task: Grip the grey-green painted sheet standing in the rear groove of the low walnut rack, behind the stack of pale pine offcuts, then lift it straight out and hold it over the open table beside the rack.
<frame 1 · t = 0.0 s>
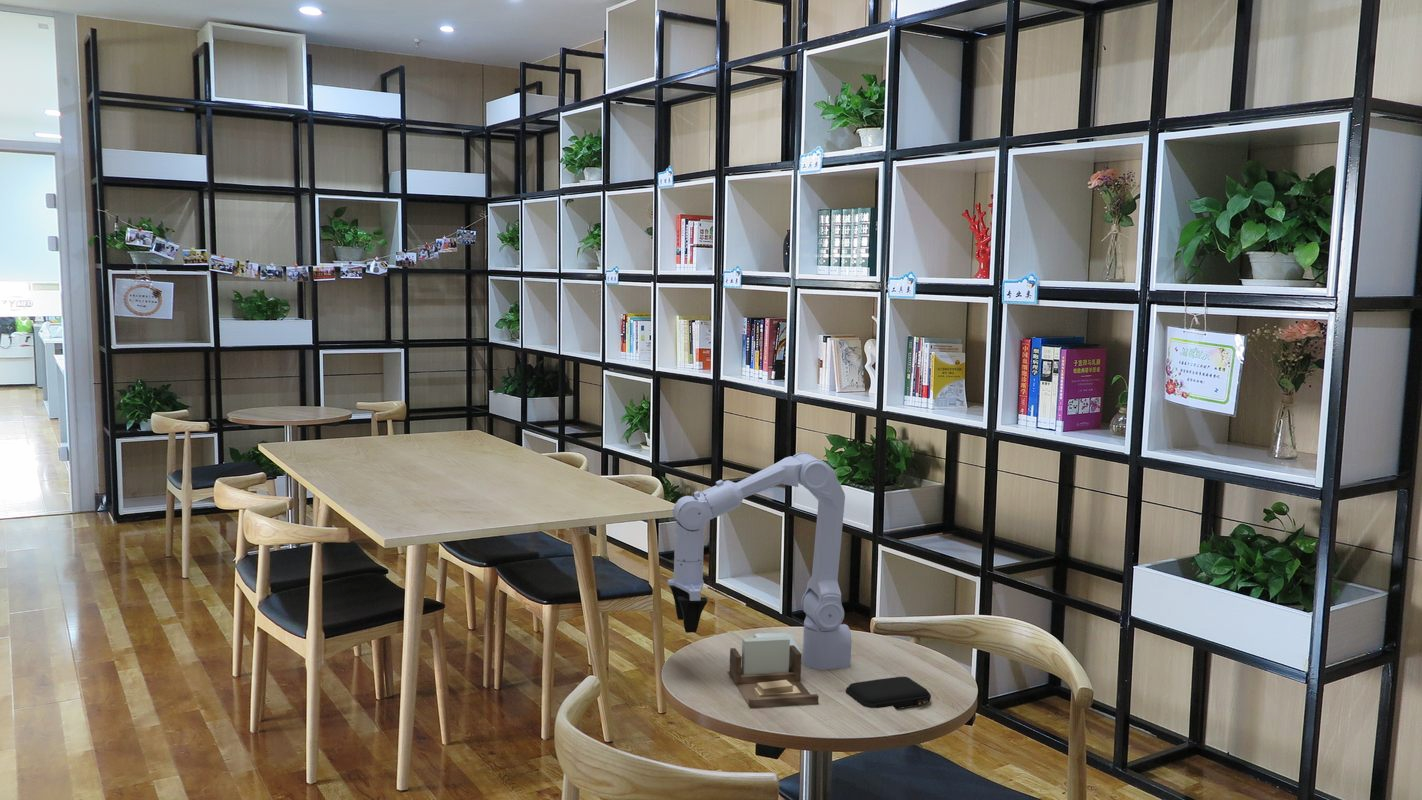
hand: (686, 625, 211), 10 cm above the table, tool pointing down, fingers open, 7 cm apart
rack: (770, 692, 204), on the table
carrying case or bag: (889, 703, 202), on the table
hard drive: (778, 650, 230), on the table
offcut stack: (777, 696, 200), point 1 cm above the table, touching rack
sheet: (764, 678, 209), point 1 cm above the table, touching rack
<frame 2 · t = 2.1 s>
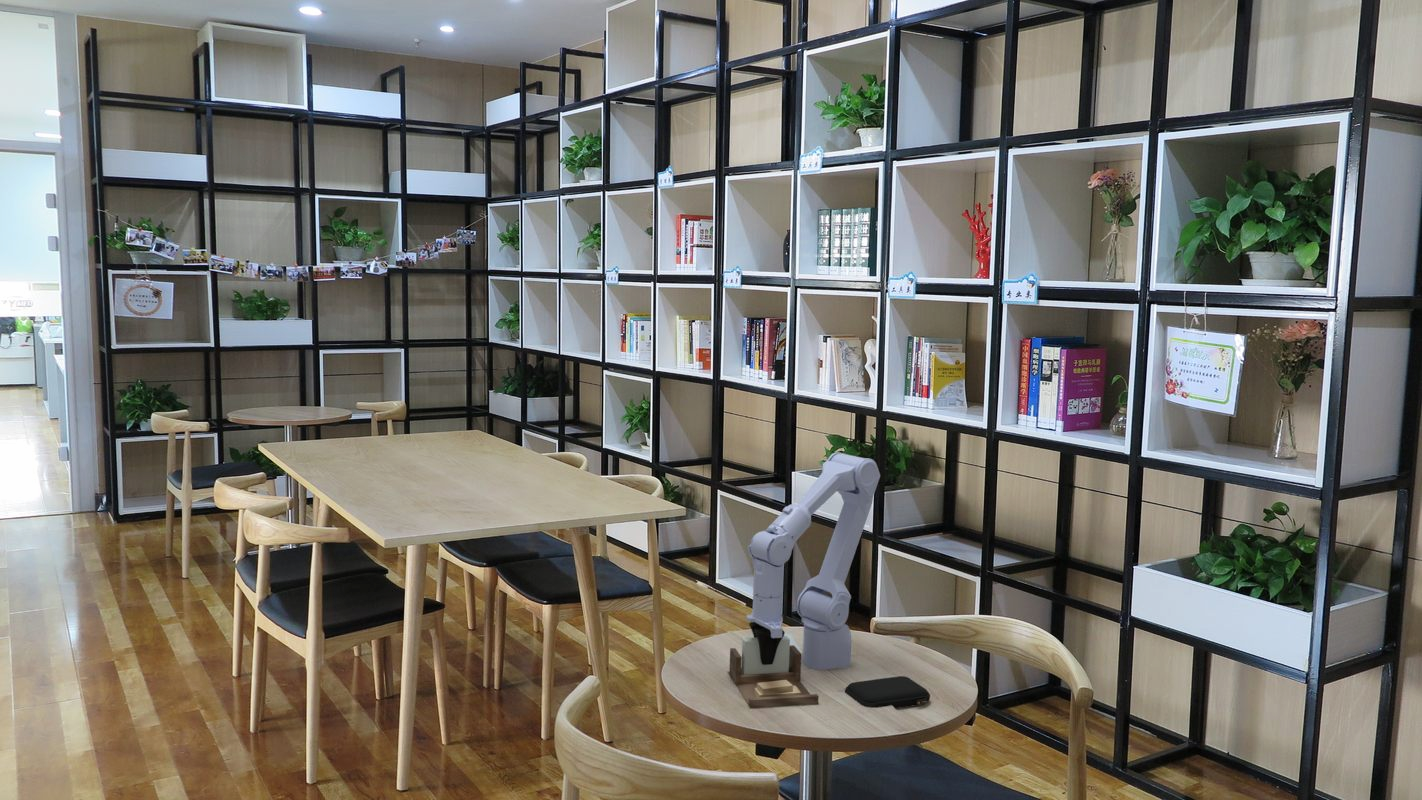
hand: (765, 661, 208), 4 cm above the table, tool pointing down, fingers closed on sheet, 2 cm apart
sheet: (764, 678, 209), point 1 cm above the table, touching gripper, rack
everything else where it was.
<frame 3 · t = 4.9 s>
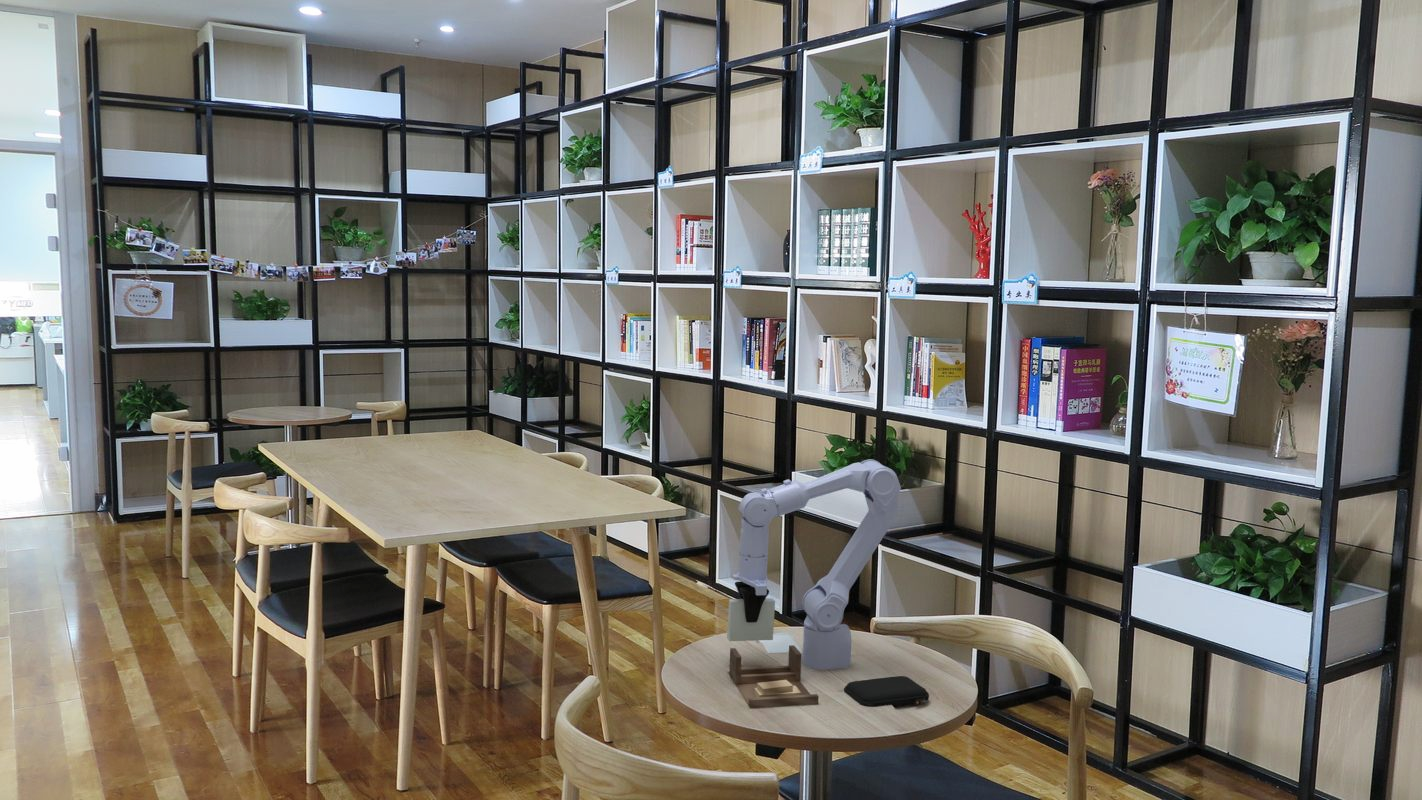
hand: (749, 619, 214), 10 cm above the table, tool pointing down, fingers closed on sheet
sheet: (750, 638, 215), point 6 cm above the table, touching gripper
everything else where it was.
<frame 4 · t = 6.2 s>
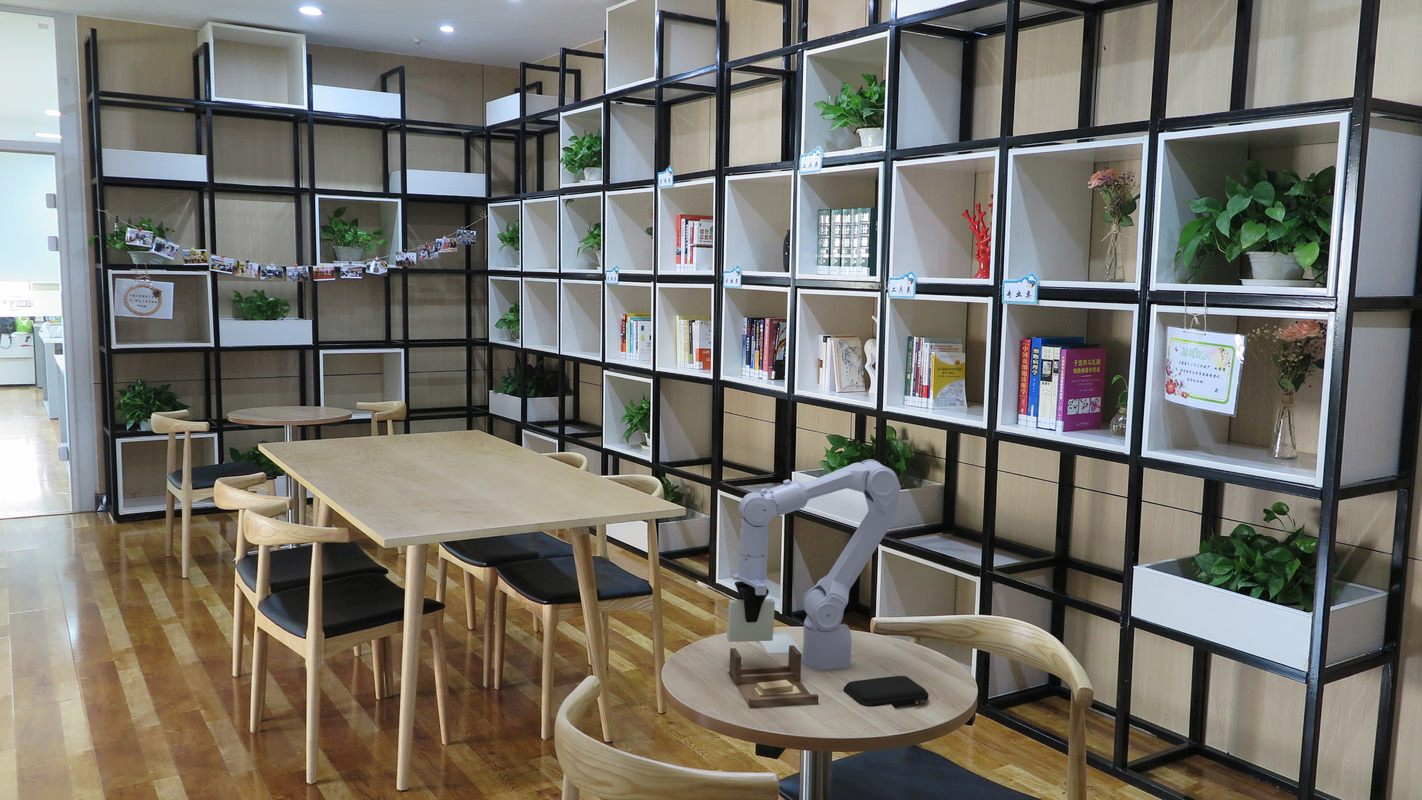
hand: (749, 619, 215), 10 cm above the table, tool pointing down, fingers closed on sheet
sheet: (749, 639, 215), point 6 cm above the table, touching gripper
everything else where it was.
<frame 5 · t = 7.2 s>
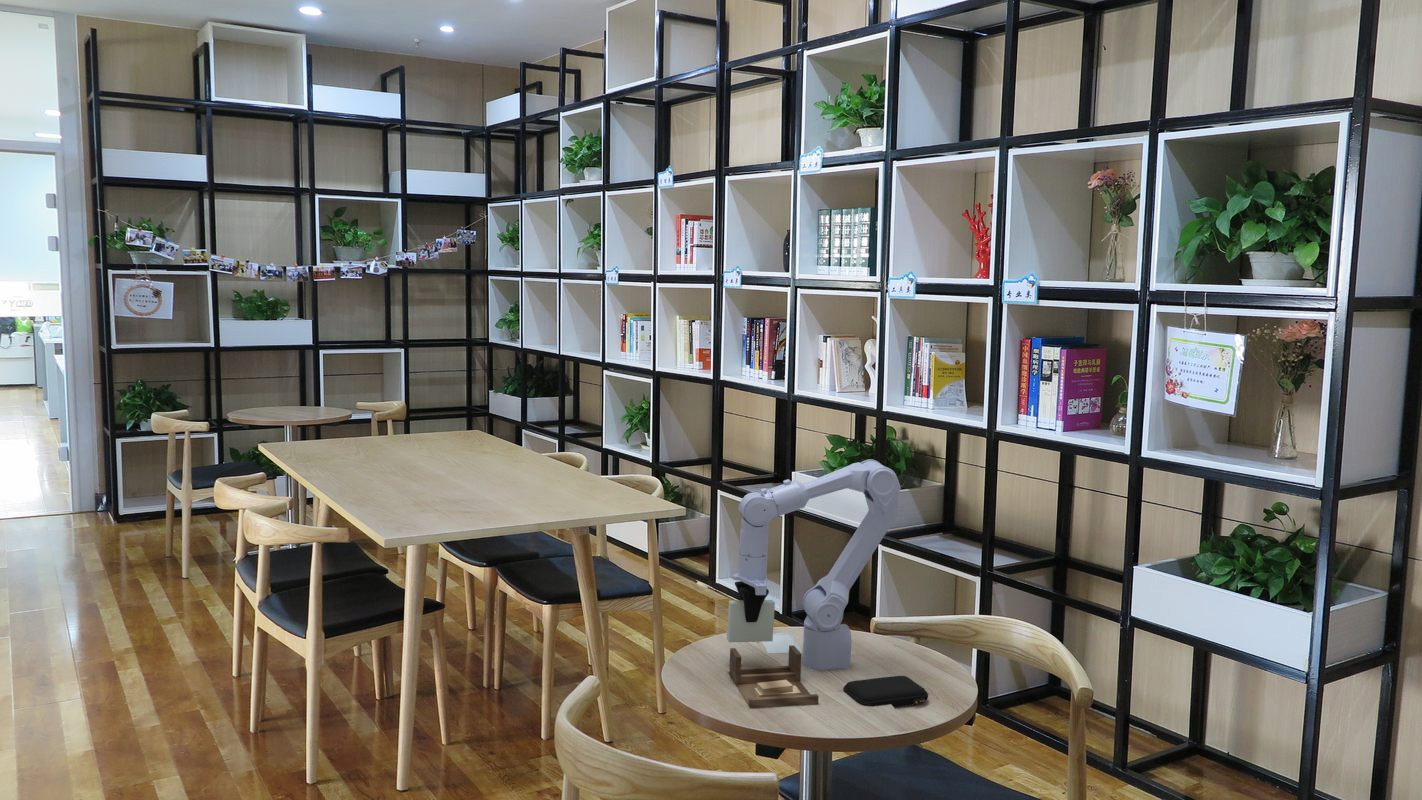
hand: (749, 619, 215), 10 cm above the table, tool pointing down, fingers closed on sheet
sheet: (749, 640, 215), point 6 cm above the table, touching gripper
everything else where it was.
at the end: the gripper is holding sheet; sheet inside the target area (0.5 cm from its centre), point 6.1 cm above the table; offcut stack moved 0.0 cm from its start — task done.
